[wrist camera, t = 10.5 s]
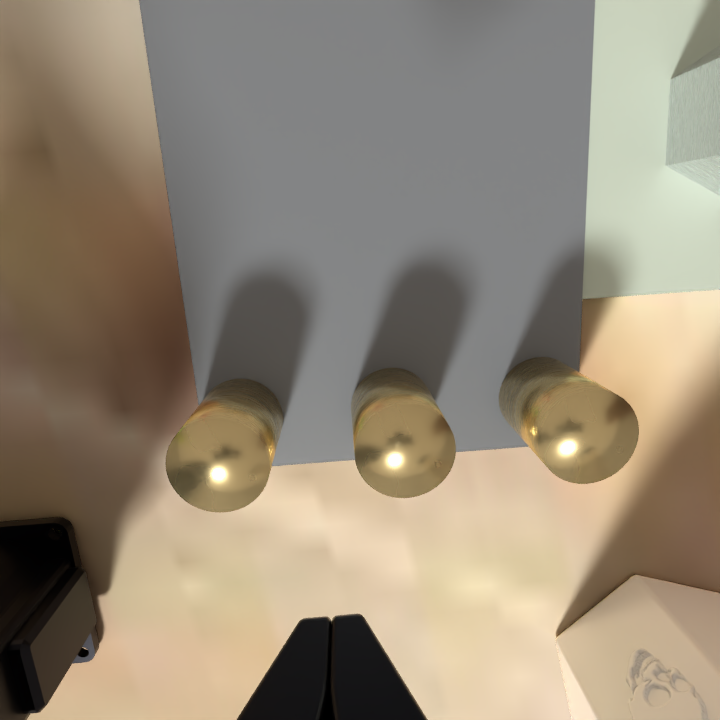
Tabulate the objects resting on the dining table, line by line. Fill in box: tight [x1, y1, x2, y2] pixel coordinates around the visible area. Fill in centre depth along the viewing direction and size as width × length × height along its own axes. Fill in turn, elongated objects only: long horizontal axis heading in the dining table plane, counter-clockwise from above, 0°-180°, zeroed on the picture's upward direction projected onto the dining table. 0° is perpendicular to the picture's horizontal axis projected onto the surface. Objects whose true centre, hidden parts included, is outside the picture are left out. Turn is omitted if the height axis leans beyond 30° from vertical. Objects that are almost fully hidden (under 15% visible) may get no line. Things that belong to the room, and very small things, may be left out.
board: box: [139, 0, 595, 466], centre depth 17 cm, size 14×22×1 cm, turn 4°
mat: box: [582, 0, 720, 299], centre depth 18 cm, size 8×11×1 cm
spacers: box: [166, 357, 639, 512], centre depth 15 cm, size 14×21×4 cm, turn 4°
